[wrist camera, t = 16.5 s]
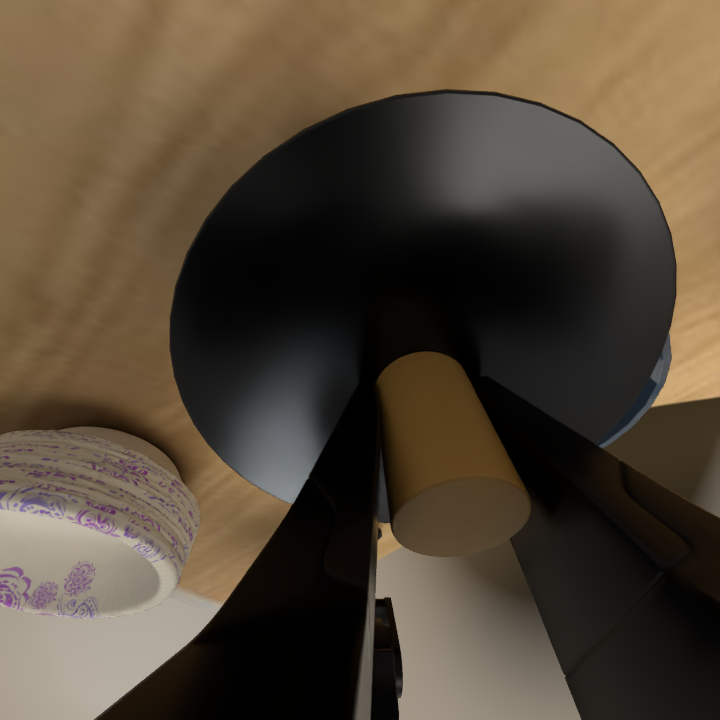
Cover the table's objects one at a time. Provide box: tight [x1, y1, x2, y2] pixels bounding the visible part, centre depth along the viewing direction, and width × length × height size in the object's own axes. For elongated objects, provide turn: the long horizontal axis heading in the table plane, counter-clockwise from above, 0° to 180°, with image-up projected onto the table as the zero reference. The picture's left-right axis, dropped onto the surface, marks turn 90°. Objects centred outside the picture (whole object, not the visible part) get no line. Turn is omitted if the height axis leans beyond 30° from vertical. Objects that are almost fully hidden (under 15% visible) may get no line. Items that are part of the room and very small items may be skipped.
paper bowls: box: [0, 427, 201, 618], centre depth 24 cm, size 15×15×8 cm
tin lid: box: [170, 89, 676, 557], centre depth 8 cm, size 12×12×5 cm
